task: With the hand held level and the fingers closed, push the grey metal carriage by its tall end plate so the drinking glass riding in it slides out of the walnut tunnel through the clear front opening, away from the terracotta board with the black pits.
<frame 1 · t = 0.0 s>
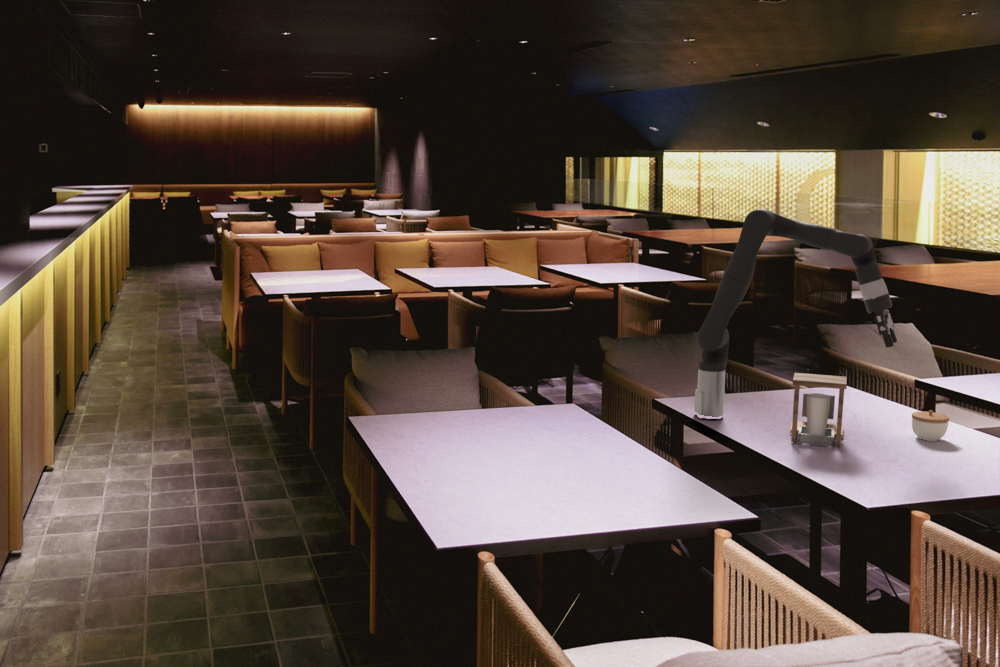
hand: (891, 344, 269), 31 cm above the table, tool tilted 20°, fingers open, 8 cm apart
lidded jar: (928, 439, 278), on the table
drinking glass: (815, 442, 274), resting in metal carriage
metal carriage: (817, 418, 280), point 6 cm above the table, slide at 0.0 cm
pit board: (816, 429, 285), on the table
walnut tunnel: (815, 441, 274), on the table
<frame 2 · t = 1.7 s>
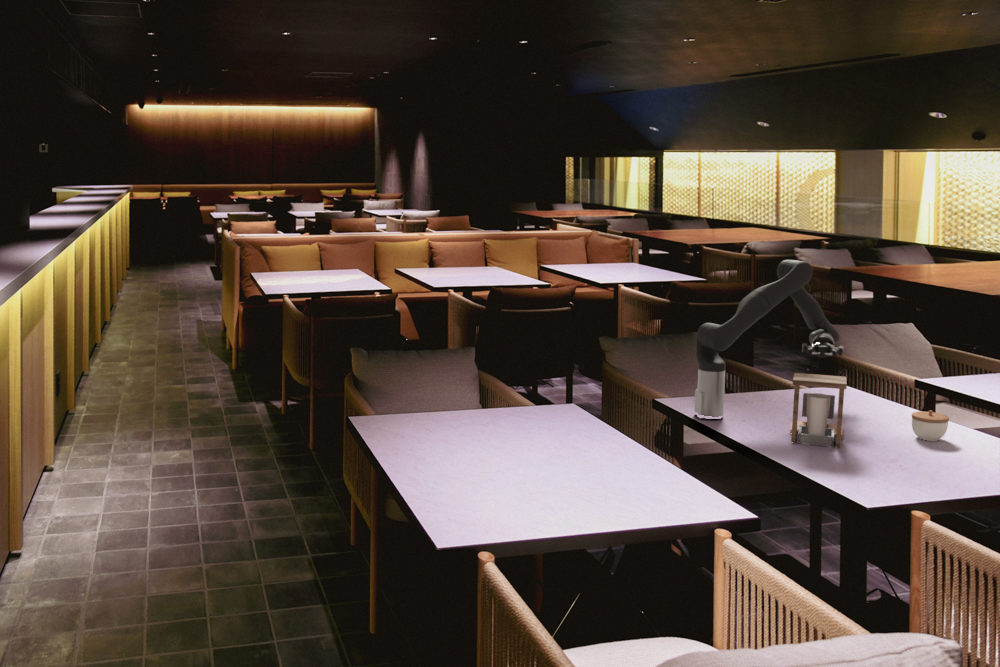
hand: (822, 352, 295), 24 cm above the table, tool horizontal, fingers open, 6 cm apart
nothing on the table moved.
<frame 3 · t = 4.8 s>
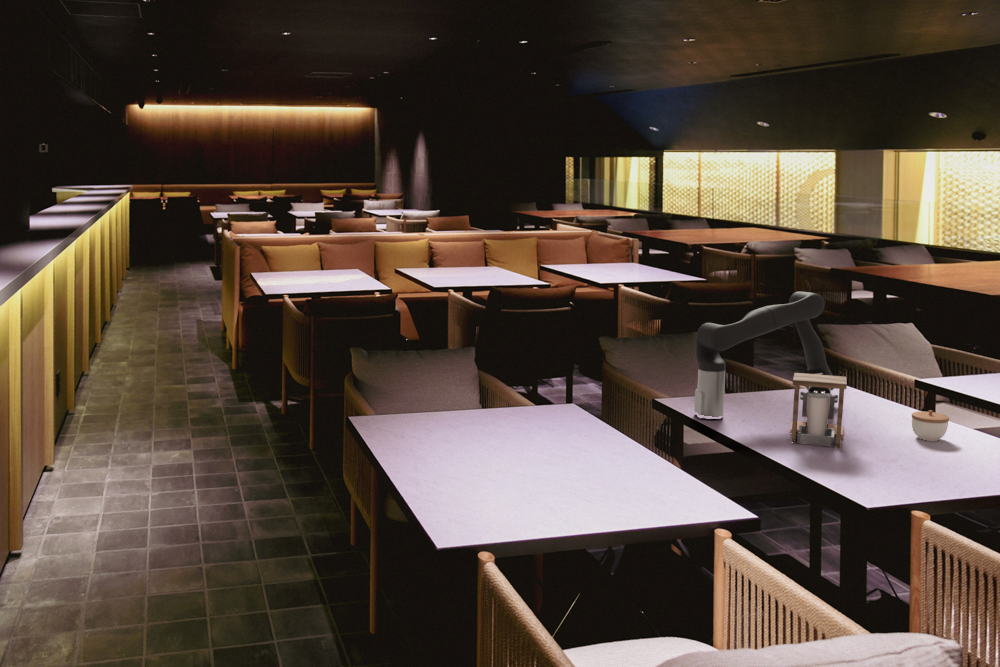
hand: (818, 402, 291), 8 cm above the table, tool horizontal, fingers closed
metal carriage: (817, 418, 280), point 6 cm above the table, slide at 0.2 cm, touching gripper
everything else where it was.
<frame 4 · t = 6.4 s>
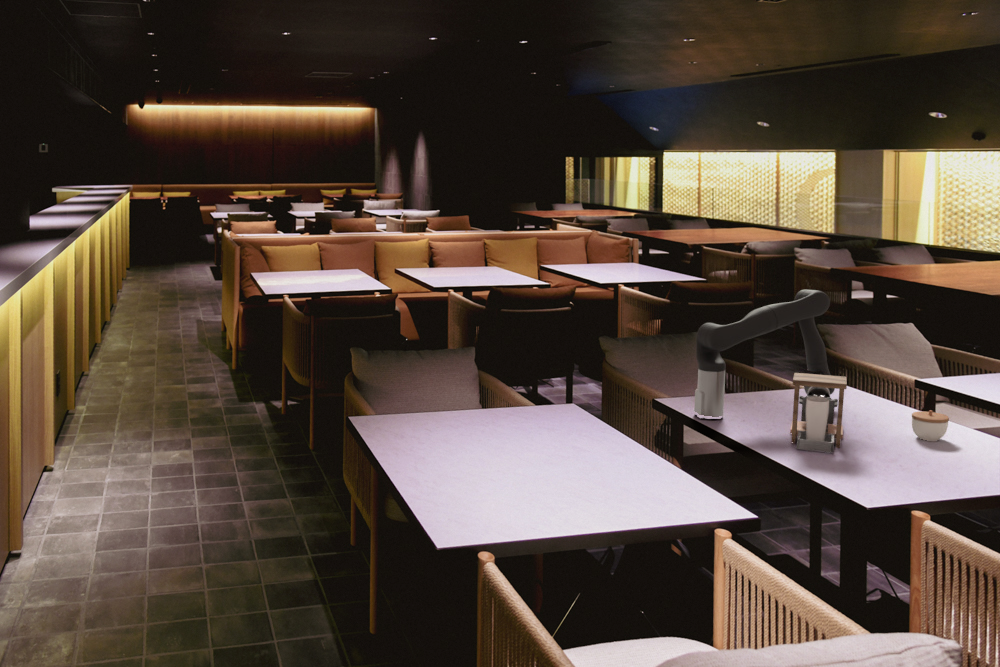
hand: (818, 407, 285), 8 cm above the table, tool horizontal, fingers closed
drinking glass: (814, 445, 270), resting in metal carriage
metal carriage: (816, 423, 274), point 6 cm above the table, slide at 6.7 cm, touching drinking glass, gripper
everything else where it was.
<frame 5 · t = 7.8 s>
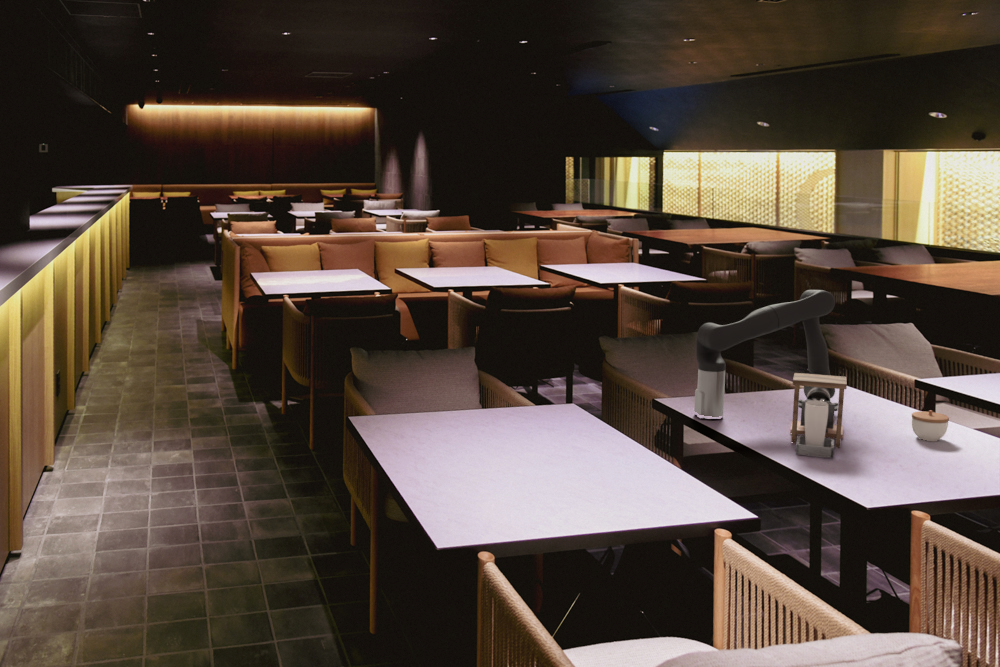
hand: (817, 411, 280), 8 cm above the table, tool horizontal, fingers closed
drinking glass: (813, 450, 264), resting in metal carriage
metal carriage: (816, 428, 269), point 6 cm above the table, slide at 12.5 cm, touching drinking glass, gripper
everything else where it was.
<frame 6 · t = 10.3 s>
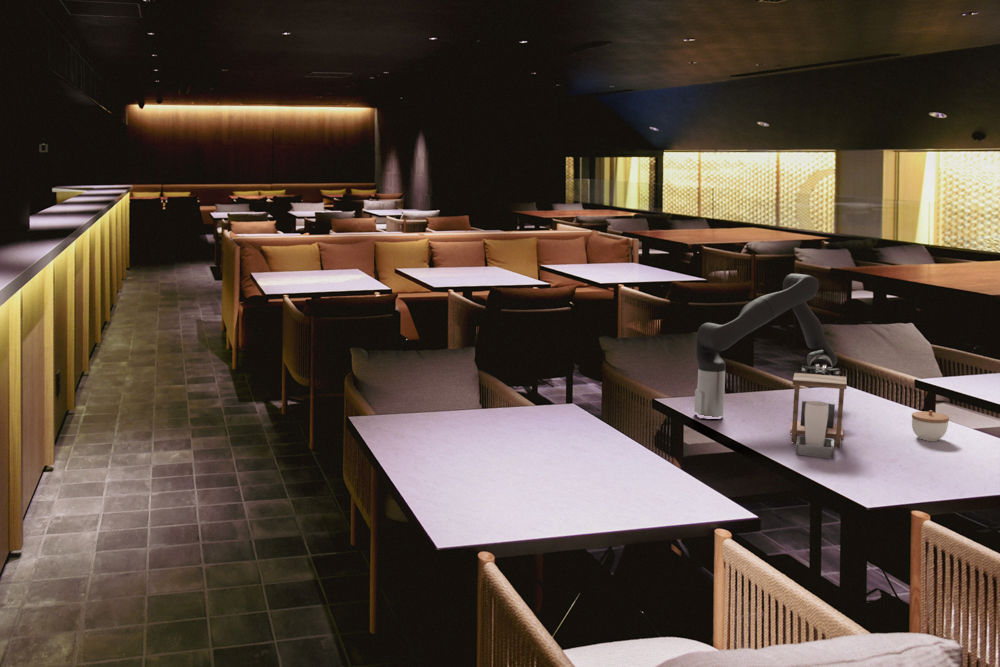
hand: (819, 375, 293), 17 cm above the table, tool horizontal, fingers closed
drinking glass: (813, 451, 264), resting in metal carriage
metal carriage: (816, 428, 269), point 6 cm above the table, slide at 12.5 cm
everything else where it was.
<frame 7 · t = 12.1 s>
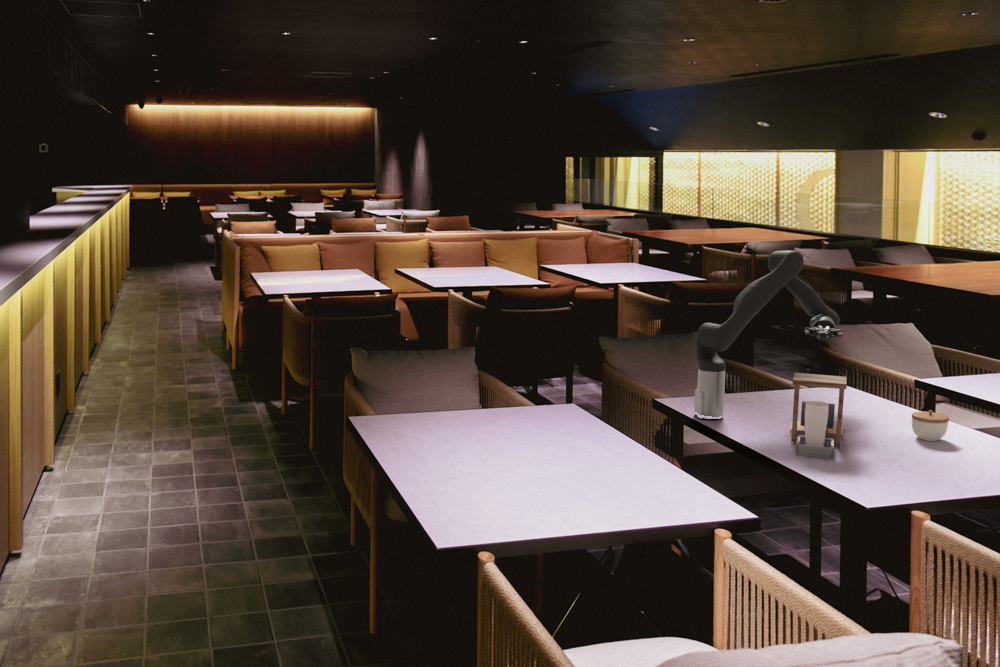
hand: (823, 335, 294), 30 cm above the table, tool horizontal, fingers closed
nothing on the table moved.
at the end: drinking glass inside the target area (1.3 cm from its centre), resting in metal carriage; drinking glass tilted 0°; metal carriage slide at 12.5 cm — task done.
